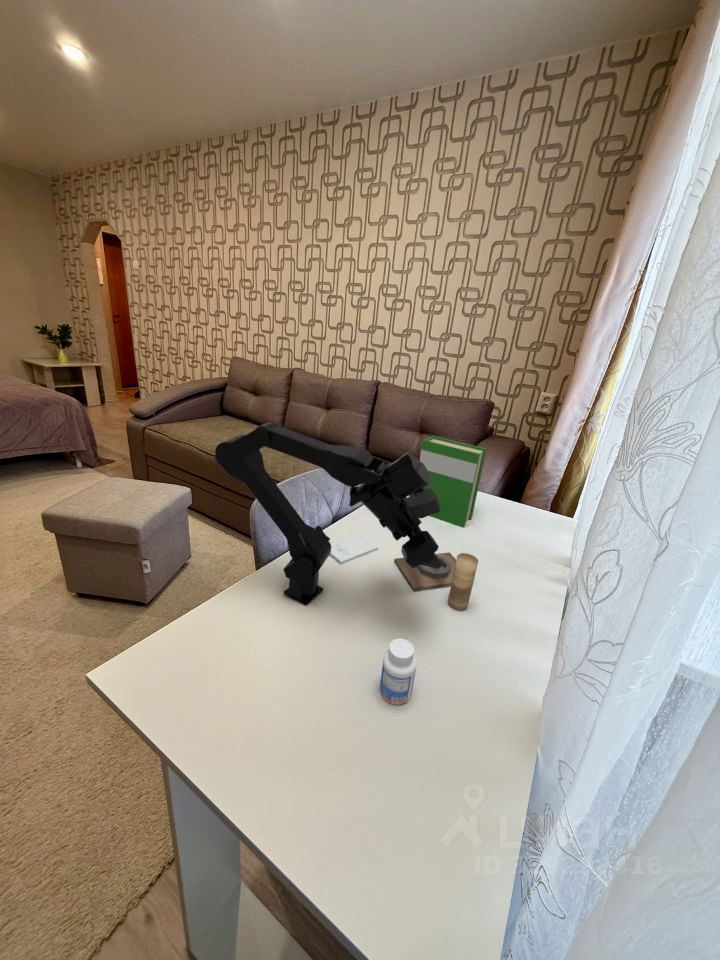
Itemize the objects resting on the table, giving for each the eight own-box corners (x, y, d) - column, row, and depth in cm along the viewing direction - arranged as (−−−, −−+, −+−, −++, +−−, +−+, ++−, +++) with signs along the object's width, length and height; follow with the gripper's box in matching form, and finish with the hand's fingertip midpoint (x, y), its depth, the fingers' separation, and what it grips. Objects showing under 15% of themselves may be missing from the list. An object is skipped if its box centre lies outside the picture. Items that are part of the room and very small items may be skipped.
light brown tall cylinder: (464, 613, 85) (475, 567, 81) (444, 605, 87) (454, 560, 83) (470, 602, 89) (480, 557, 84) (451, 595, 91) (460, 550, 86)
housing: (413, 591, 91) (414, 582, 90) (394, 562, 101) (395, 553, 100) (473, 583, 96) (475, 574, 95) (448, 555, 106) (450, 547, 105)
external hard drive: (377, 551, 106) (340, 566, 99) (358, 538, 112) (321, 551, 104) (377, 546, 106) (341, 561, 98) (358, 533, 111) (322, 545, 104)
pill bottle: (391, 672, 70) (398, 629, 66) (417, 690, 67) (425, 646, 63) (372, 692, 66) (378, 647, 62) (399, 712, 63) (407, 667, 59)
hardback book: (471, 519, 127) (486, 448, 118) (463, 528, 121) (478, 454, 112) (421, 502, 136) (432, 435, 126) (412, 510, 130) (422, 440, 120)
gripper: (435, 500, 65) (483, 555, 72) (405, 461, 82) (446, 508, 89) (384, 542, 67) (435, 592, 73) (365, 495, 84) (408, 538, 90)
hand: (432, 553), depth 81 cm, fingers open, 9 cm apart
